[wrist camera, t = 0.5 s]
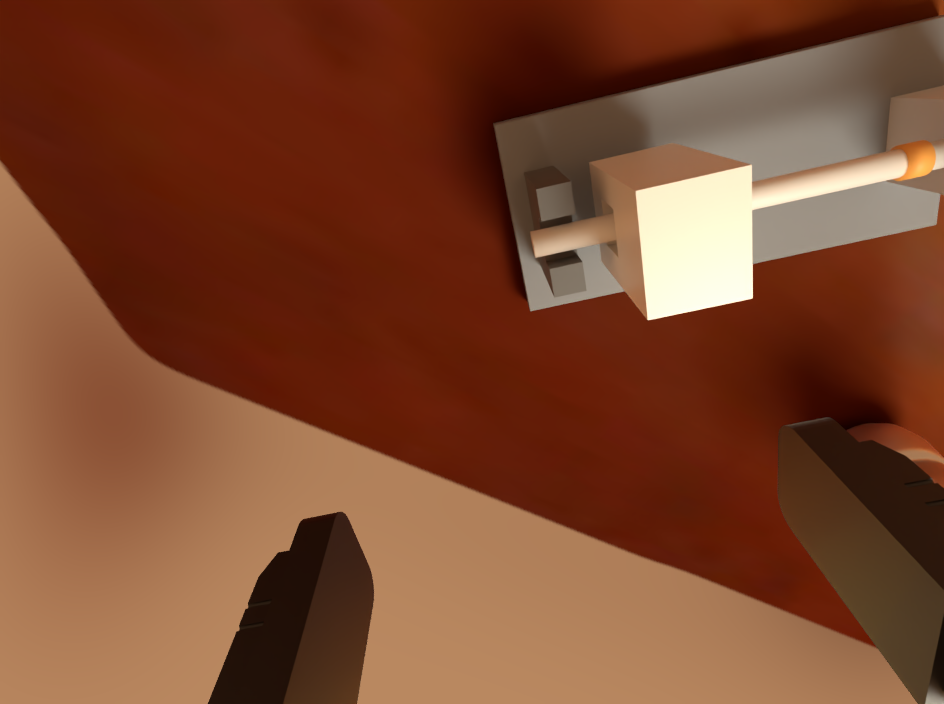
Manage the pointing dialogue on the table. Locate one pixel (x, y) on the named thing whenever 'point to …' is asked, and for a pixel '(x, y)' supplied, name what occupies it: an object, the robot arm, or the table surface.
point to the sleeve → (677, 227)
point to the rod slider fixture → (744, 152)
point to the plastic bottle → (904, 446)
